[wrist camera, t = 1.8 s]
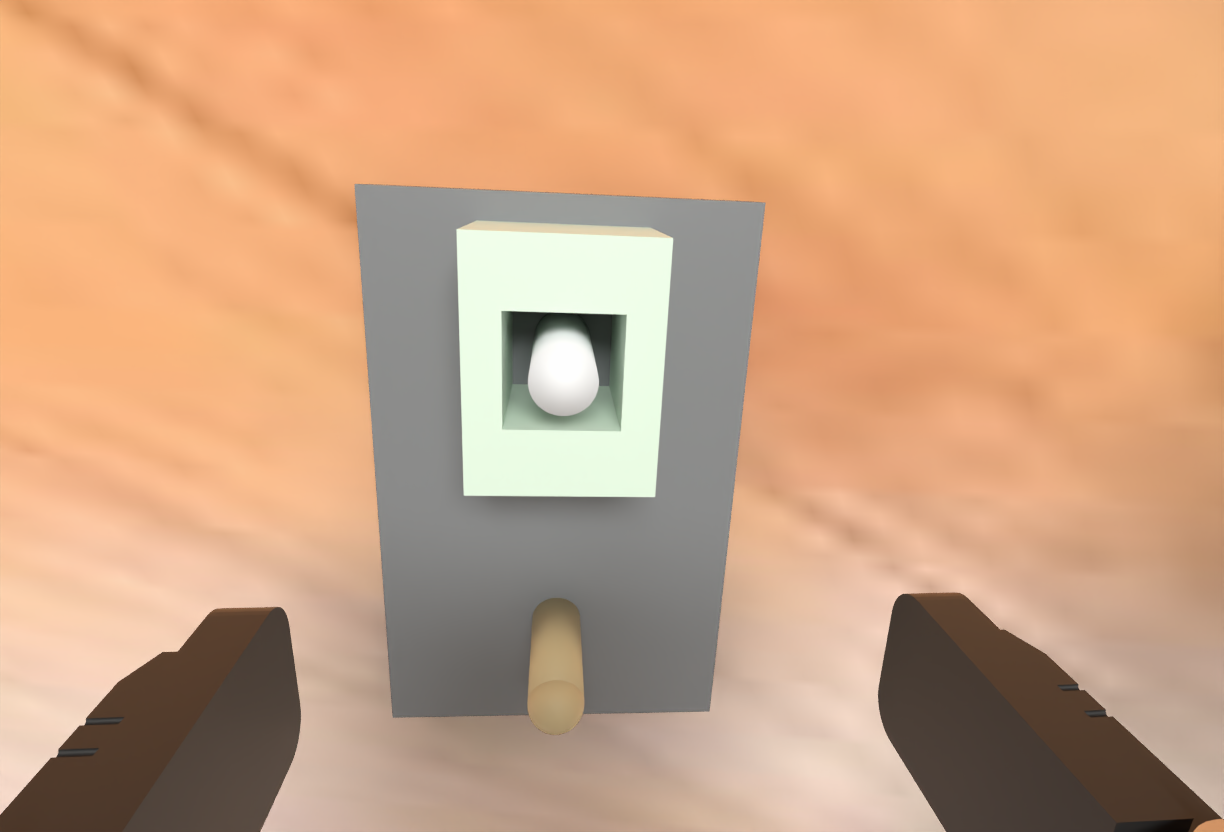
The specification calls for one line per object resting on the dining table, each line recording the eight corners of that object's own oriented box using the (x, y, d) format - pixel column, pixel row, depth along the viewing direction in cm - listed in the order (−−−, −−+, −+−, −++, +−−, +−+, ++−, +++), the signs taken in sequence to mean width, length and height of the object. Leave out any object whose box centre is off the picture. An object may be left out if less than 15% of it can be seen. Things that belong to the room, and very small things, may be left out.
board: (366, 184, 24) (287, 183, 17) (753, 201, 25) (829, 208, 18) (400, 693, 31) (353, 843, 24) (702, 688, 32) (743, 829, 25)
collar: (476, 220, 23) (456, 229, 19) (650, 227, 24) (673, 238, 19) (480, 439, 26) (463, 495, 21) (637, 441, 26) (655, 497, 22)
